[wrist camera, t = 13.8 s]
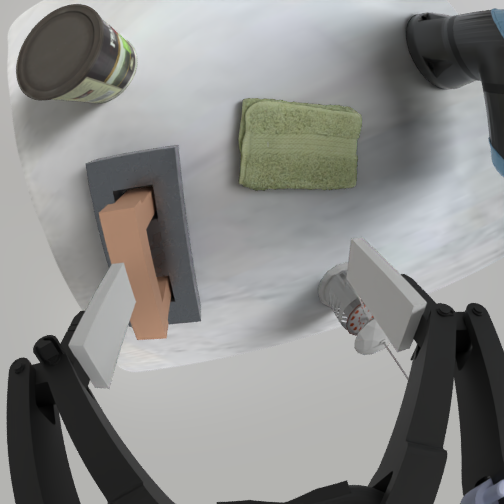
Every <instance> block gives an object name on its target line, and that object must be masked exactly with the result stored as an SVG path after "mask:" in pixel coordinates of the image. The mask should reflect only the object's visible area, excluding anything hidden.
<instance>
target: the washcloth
mask: <svg viewBox="0 0 504 504" xmlns="http://www.w3.org/2000/svg"><path fill="white" fill-rule="evenodd" d="M361 127H362V118H361V115H360V114H358V113H357V112H356V111H355V110H353V109H352V108H351V107H348V106H347V107H344V106H343V107H342V106H340V105H337V106H336V105H334V106H332V105H326V106H324V105H320V104H318V105H317V104H308V103H296V102H286V101H283V100H275V99H258V98H256V99H255V98H252V99H250V98H248V99H244V100H243V105H242V118H241V123H240V131H239V139H238V141H239V150H240V153H241V163H240V176H239V184H241V185H243V186H244V187H247V188H248V187H249V188H250V189H253V190H256V191H257V190H263V191H265V190H266V189H275V190H276V189H286V188H287V189H288V188H290V189H291V188H292V189H309V190H311V189H322V190H327V189H329V190H332V189H341V188H344V189H346V188H353V187H354V186H355V185H356V181H357V170H356V168H357V160H358V157H357V155H356V151H357V139H358V138H359V134H360V131H361Z"/></svg>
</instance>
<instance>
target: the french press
mask: <svg viewBox="0 0 504 504" xmlns="http://www.w3.org/2000/svg"><path fill="white" fill-rule="evenodd" d="M347 270H348V262H345V263H342V264H339V265H336V266H335V267H333V268H332V269H331V270H329V271H328V272H327V273H326V274H325V276H324V277H323V278H322V280H321V282H320V285H319V288H318V294H319V299H320V300H321V302H322V303H323V304H324V305H326V306H329V307H331V308H332V307H333V308H332V309H333V312H334V311H336V312H334V313H335V315H336V317H337V318H338V319H339V322H340V323H341V325H342V326H343V327H344V328H345V329H346V330H348V332H349V333H350V334H353V335H357V337H356V340H355V349H356V351H357V352H358V353H360V354H363V355H367V354H373V353H376V352H378V351H380V350H383V349H384V348H387V350H388V351H389V352H390V354H391V355H392V357H393V358H394V360H395V361H396V363H397V364H398V366H399V367H400V369H401V370H402V372H403V373H404V375H405V376H406V378H407V379H409V378H408V377H407V375H406V374H405V372H404V371H403V369H402V368H401V366H400V365H399V363H398V362H397V360H396V359H395V357H394V356H393V354H392V353H391V351H390V350H389V348H388V347H387V346H388V345H389V344H390V343H391V342H390V340H389V339H388V337H387V336H386V334H385V333H384V331H383V330H382V328H381V327H380V326H379V324H378V323H377V321H376V320H375V318H374V317H373V315H372V314H371V312H370V311H369V309H368V308H367V307H366V305H365V304H364V302H363V301H362V299H360V297H359V295H358V294H357V292H356V291H355V290H354V288H353V287H352V285H351V284H350V283H349V281H348V280H347V279H346V278H347ZM362 302H363V303H362ZM334 307H335V308H336V309H334ZM338 308H340V309H339V310H338ZM337 312H339V313H337ZM343 312H344V313H345V314H343ZM337 315H339V317H338V316H337ZM342 316H346V317H347V318H342ZM341 320H345V321H347V323H345V322H341Z"/></svg>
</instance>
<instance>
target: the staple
mask: <svg viewBox="0 0 504 504" xmlns="http://www.w3.org/2000/svg"><path fill="white" fill-rule="evenodd" d="M156 210H157V208H156V201H155V195H154V188H153V186H148V187H141V188H135V189H129V190H128V191H127V192H125V193H124V194H123V195H122V196H121V197H120V198H119V199H118V200H117V201H116V202H115V203H114V204H108V205H107V206H106V207H105V208H104V209H102V210H101V211H100V212H99V217H100V221H101V226H102V230H103V234H104V238H105V242H106V246H107V250H108V253H109V257H110V261H111V264H115V263H124V265H125V269H126V272H127V276H128V279H129V282H130V285H131V288H132V291H133V294H134V297H135V300H136V303H135V306H134V309H133V312H132V315H131V318H130V322H131V325H132V328H133V330H134V333H135V335H136V338H137V340H145V339H162V338H167V330H168V314H169V307H170V300H171V294H172V286H171V281H170V277H169V276H162V277H156V273H155V269H154V265H153V260H152V256H151V251H150V246H149V241H148V236H147V231H146V229H147V227H148V225H149V223H150V221H151V219H152V217H153V215H154V213H155V211H156Z"/></svg>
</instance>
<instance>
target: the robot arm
mask: <svg viewBox="0 0 504 504" xmlns="http://www.w3.org/2000/svg"><path fill="white" fill-rule="evenodd" d="M406 37H407V44H408V48H409V51H410V54H411V56H412V58H413V60H414V62H415V64H416V66H417V67H418V69H419V70H420V72H421V73H422V74H423V76H424V77H425V78H426V79H427V80H428V81H429V82H431V83H432V84H434V85H435V86H437V87H439V88H443V89H456V88H460V87H462V86H464V85H466V84H469V83H471V82H473V81H475V80H479V81H481V82H482V86H483V92H484V98H485V104H486V111H487V118H488V127H489V144H490V146H491V157H492V162H493V165H494V166H495V168H496V170H497V171H498V172H499V173H500V174H501V175H502V176H503V177H504V10H503V9H492V10H486V11H479V12H472V13H467V14H461V15H456V16H449V15H443V14H436V13H422V14H419V15H416V16H414V17H413V18H411V20H410V21H409V23H408V25H407V31H406ZM346 279H347V280H348V281H349V283H350V284H351V285H352V287H353V288H354V290H355V291H356V292H357V294H358V295H359V297H360V298H361V299H362V301H363V302H364V304H365V305H366V307H367V308H368V309H369V311H370V312H371V314H372V315H373V317H374V318H375V320H376V321H377V323H378V324H379V326H380V327H381V328H382V330H383V331H384V333H385V334H386V336H387V337H388V339H389V340H390V342H391V344H392V345H393V346H394V348H395V350H396V351H397V352H399V351H402V350H405V349H409V348H410V346H411V344H412V342H413V339H414V340H415V341H416V343H417V346H416V349H415V351H414V353H413V355H412V358H411V360H413V362H412V367H411V371H410V375H409V379H408V383H407V387H406V391H405V395H404V398H403V401H402V405H401V408H400V412H399V415H398V418H397V421H396V424H395V427H394V430H393V433H392V436H391V438H390V441H389V444H388V446H387V449H386V452H385V454H384V457H383V459H382V461H381V464H380V466H379V468H378V470H377V472H376V473H375V475H374V476H373V478H372V479H371V482H370V483H369V485H368V487H367V486H361V485H348V482H347V481H344V482H340V483H337V484H333V485H330V486H326V487H322V488H318V489H315V490H313V491H311V492H309V493H307V494H305V495H302V496H300V497H298V498H296V499H293V500H290V501H288V502H285V503H279V502H264V501H253V500H245V501H234V502H233V501H232V502H217V504H433V503H434V500H435V497H436V494H437V492H438V488H439V485H440V482H441V479H442V475H443V472H444V468H445V464H446V460H447V451H446V450H444V449H443V444H444V439H445V434H446V429H447V424H448V418H449V412H450V406H451V398H452V390H453V381H454V380H455V386H456V393H457V401H458V409H459V419H460V431H461V453H462V488H463V495H464V497H463V499H462V501H461V503H460V504H504V351H503V348H502V346H501V343H500V341H499V338H498V335H497V333H496V331H495V328H494V326H493V323H492V321H491V318H490V316H489V314H488V312H487V310H486V309H485V308H484V307H483V306H482V305H480V304H476V303H471V304H468V306H467V308H466V310H465V312H455V311H454V310H453V309H452V308H451V307H450V306H448V305H446V304H442V303H438V304H436V303H435V302H434V301H433V299H432V298H431V297H430V296H429V295H428V294H427V293H426V292H425V291H424V290H422V288H421V287H420V286H419V285H417V283H416V282H415V281H414V280H413V279H412V278H410V277H409V276H407V275H405V274H401V275H400V274H399V273H398V272H397V271H396V270H395V269H394V268H393V267H392V266H391V265H390V264H389V263H388V262H387V261H386V260H385V259H384V258H383V257H382V256H381V255H380V254H379V253H378V252H377V251H376V250H375V249H374V248H373V247H372V246H371V245H370V244H369V243H368V242H367V241H366V240H365V239H364V238H362V237H361V238H351V244H350V253H349V262H348V270H347V278H346ZM135 303H136V300H135V297H134V294H133V291H132V288H131V285H130V282H129V279H128V276H127V272H126V269H125V265H124V263H115V264H112V265H111V266H110V268H109V270H108V271H107V273H106V275H105V276H104V278H103V280H102V282H101V283H100V285H99V287H98V289H97V290H96V292H95V294H94V296H93V298H92V299H91V301H90V303H89V305H88V307H87V309H86V311H80V312H79V313H78V314H77V315H76V316H75V317H74V319H73V321H72V323H71V326H69V328H68V332H66V334H65V336H64V338H63V340H62V342H61V344H60V343H59V341H58V339H57V338H56V337H55V336H53V335H47V336H44V337H42V338H41V339H39V340H38V341H37V342H36V343H35V345H34V348H33V352H34V354H35V355H36V357H37V358H38V360H39V361H40V363H38V364H34V365H31V363H30V362H29V360H28V359H27V358H19V359H17V360H15V361H14V362H13V363H12V365H11V366H10V369H9V377H8V391H7V444H8V457H9V466H10V474H11V481H12V486H13V492H14V497H15V503H16V504H80V501H79V498H78V495H77V492H76V488H75V485H74V482H73V478H72V475H71V471H70V467H69V463H68V459H67V454H66V451H65V445H64V440H63V435H62V429H61V423H60V417H59V413H60V415H61V417H62V420H63V422H64V424H65V426H66V429H67V431H68V433H69V435H70V437H71V439H72V441H73V443H74V445H75V447H76V449H77V451H78V453H79V455H80V457H81V458H82V460H83V462H84V464H85V466H86V467H87V469H88V471H89V472H90V474H91V476H92V477H93V479H94V481H95V482H96V484H97V485H98V487H99V489H100V490H101V491H102V493H103V495H104V496H105V498H106V499H107V501H108V504H175V503H174V502H172V500H170V499H169V497H167V496H166V494H165V493H164V492H163V491H162V490H161V489H160V488H159V487H158V485H157V484H156V483H155V482H154V481H153V480H152V479H151V477H150V476H149V475H148V474H147V473H146V471H145V470H144V469H143V468H142V466H141V465H140V464H139V463H138V461H137V460H136V459H135V457H134V456H133V455H132V454H131V452H130V451H129V449H128V448H127V447H126V445H125V444H124V443H123V441H122V440H121V438H120V437H119V436H118V434H117V432H116V431H115V430H114V428H113V426H112V425H111V423H110V422H109V420H108V419H107V417H106V416H105V414H104V413H103V411H102V409H101V407H100V406H99V404H98V403H97V401H96V399H95V397H94V395H93V394H92V392H91V390H90V389H89V387H88V384H89V381H91V382H92V384H93V385H94V386H95V388H108V389H109V388H110V384H111V381H112V377H113V373H114V370H115V366H116V363H117V359H118V356H119V352H120V349H121V346H122V343H123V339H124V336H125V333H126V330H127V327H128V324H129V321H130V318H131V315H132V312H133V309H134V306H135Z"/></svg>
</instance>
